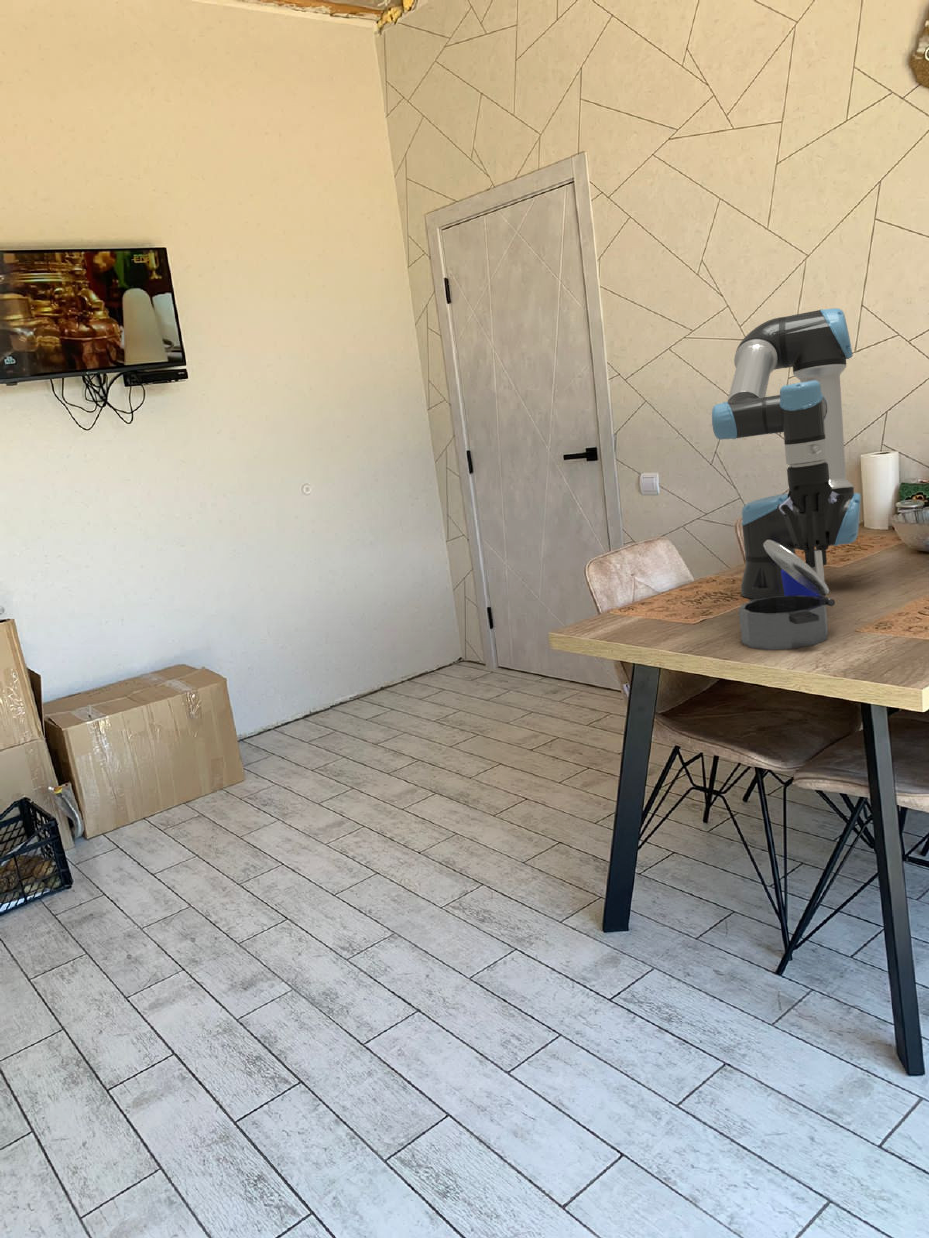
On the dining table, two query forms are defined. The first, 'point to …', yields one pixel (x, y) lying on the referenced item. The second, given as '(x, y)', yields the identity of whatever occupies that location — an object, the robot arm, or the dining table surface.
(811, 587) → the lid
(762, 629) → the pot
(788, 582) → the mug
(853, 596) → the dining table surface
